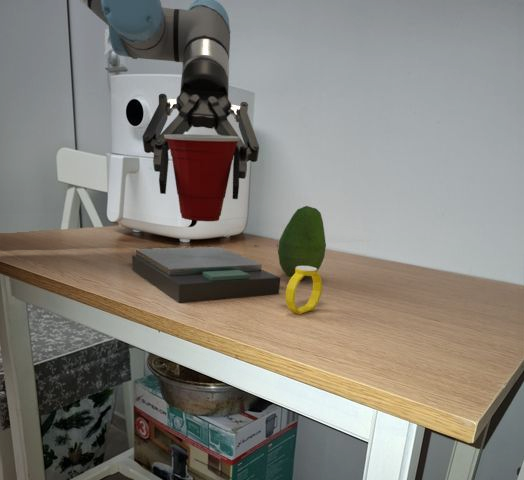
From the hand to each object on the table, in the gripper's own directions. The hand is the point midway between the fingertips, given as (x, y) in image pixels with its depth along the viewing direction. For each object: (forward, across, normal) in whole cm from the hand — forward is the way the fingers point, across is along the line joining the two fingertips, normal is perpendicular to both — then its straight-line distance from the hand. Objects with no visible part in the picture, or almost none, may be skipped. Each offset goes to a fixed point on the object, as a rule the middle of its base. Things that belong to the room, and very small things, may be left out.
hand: (199, 190), depth 69 cm
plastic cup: (+1, 0, -5) cm, 5 cm away
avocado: (+5, -17, -15) cm, 23 cm away
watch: (+18, -14, -1) cm, 23 cm away
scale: (+9, -1, -10) cm, 14 cm away
